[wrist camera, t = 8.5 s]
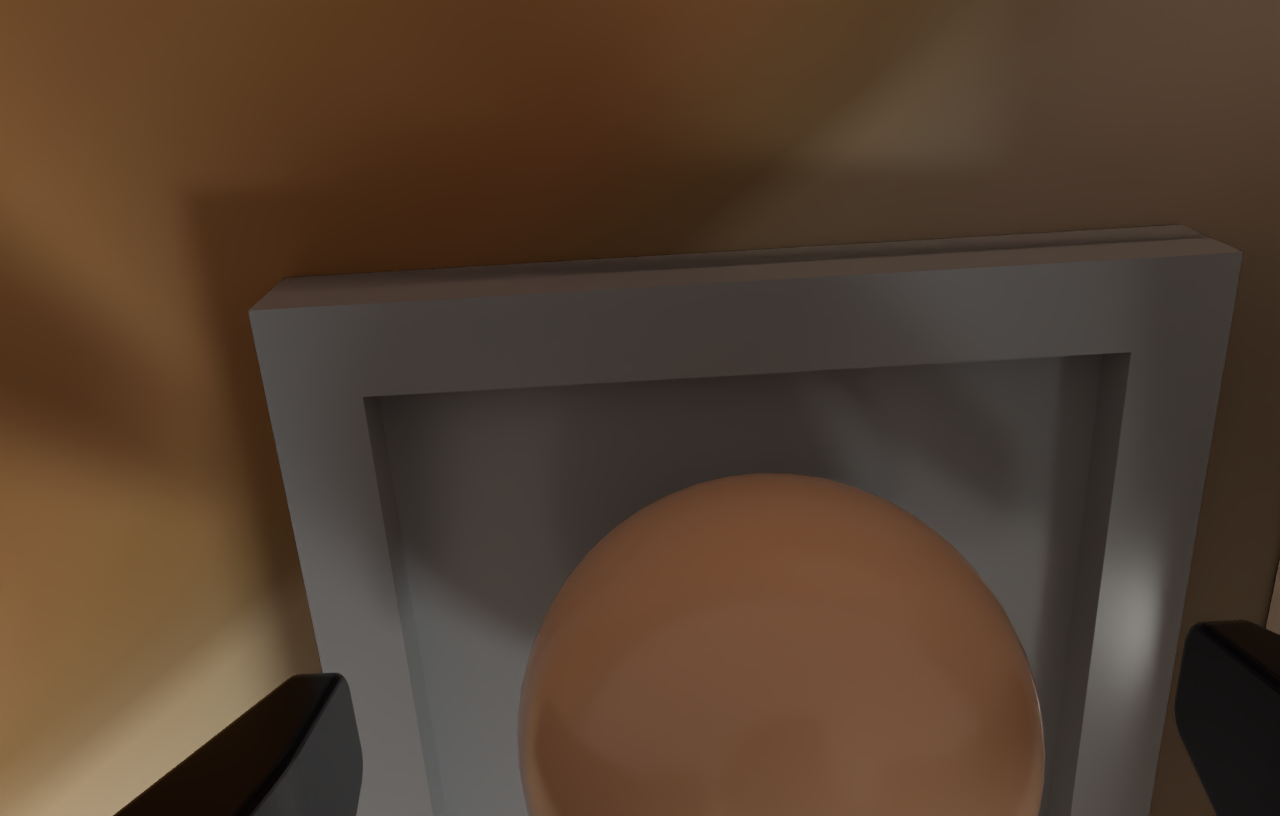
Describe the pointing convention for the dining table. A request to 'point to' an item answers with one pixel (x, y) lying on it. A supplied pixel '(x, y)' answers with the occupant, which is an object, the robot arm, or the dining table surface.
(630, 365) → the slate tray
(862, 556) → the orange tan ball
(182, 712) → the dining table surface
